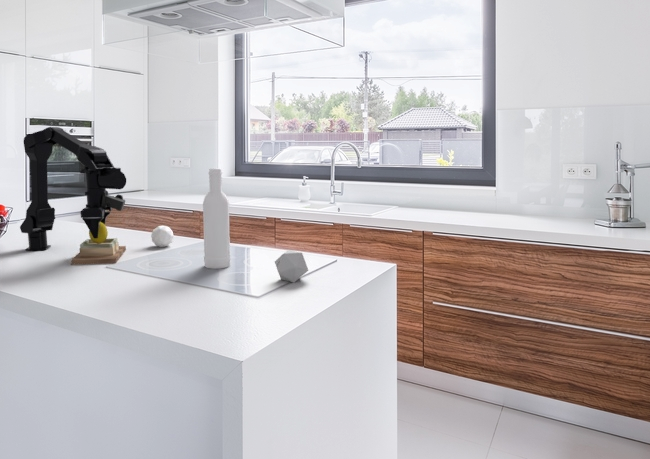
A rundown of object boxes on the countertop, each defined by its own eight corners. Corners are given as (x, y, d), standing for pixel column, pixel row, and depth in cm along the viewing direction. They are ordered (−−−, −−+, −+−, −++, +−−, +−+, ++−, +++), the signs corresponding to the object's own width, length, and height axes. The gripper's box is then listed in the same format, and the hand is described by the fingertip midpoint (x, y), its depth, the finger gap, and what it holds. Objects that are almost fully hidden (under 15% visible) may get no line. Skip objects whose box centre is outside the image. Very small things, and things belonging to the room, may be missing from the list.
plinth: (86, 251, 179) (85, 236, 178) (125, 250, 182) (125, 235, 181) (71, 264, 160) (69, 248, 159) (115, 263, 163) (115, 246, 162)
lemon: (101, 246, 167) (99, 222, 166) (86, 246, 168) (84, 221, 167) (111, 243, 173) (110, 219, 171) (96, 243, 174) (95, 219, 172)
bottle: (230, 268, 157) (228, 169, 152) (203, 269, 156) (200, 168, 151) (230, 262, 165) (228, 167, 160) (205, 263, 164) (202, 167, 159)
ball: (164, 254, 188) (160, 240, 182) (149, 244, 191) (144, 230, 185) (179, 242, 192) (176, 227, 187) (164, 232, 195) (160, 217, 190)
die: (282, 276, 151) (266, 253, 146) (309, 261, 151) (294, 237, 146) (288, 294, 144) (271, 270, 139) (316, 279, 144) (301, 254, 139)
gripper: (117, 190, 160) (120, 240, 163) (126, 185, 178) (129, 230, 181) (78, 190, 158) (81, 241, 160) (92, 185, 176) (94, 231, 178)
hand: (98, 235), depth 170 cm, fingers open, 9 cm apart
